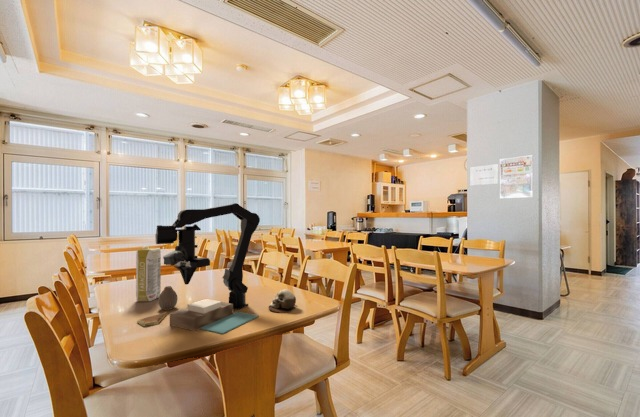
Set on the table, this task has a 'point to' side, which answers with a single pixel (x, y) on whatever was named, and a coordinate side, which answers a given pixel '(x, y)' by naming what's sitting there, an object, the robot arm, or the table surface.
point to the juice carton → (148, 273)
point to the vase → (168, 298)
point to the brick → (199, 317)
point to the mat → (229, 322)
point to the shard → (152, 319)
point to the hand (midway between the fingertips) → (186, 284)
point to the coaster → (204, 306)
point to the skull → (283, 302)
